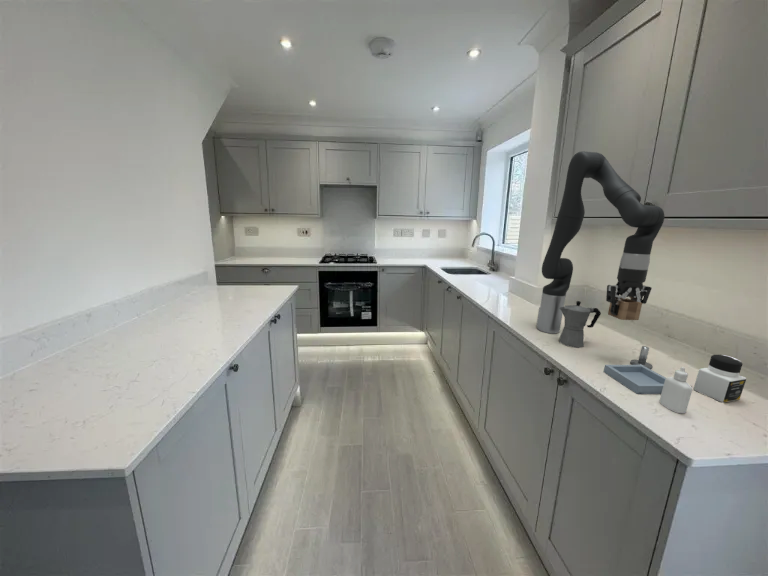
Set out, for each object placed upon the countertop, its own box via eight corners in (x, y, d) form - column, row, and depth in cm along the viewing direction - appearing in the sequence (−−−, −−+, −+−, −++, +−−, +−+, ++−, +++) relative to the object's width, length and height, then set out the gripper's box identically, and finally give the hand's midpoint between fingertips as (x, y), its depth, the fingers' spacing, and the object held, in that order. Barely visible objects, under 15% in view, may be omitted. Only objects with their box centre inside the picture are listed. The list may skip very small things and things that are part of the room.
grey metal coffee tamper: (625, 361, 109) (630, 343, 107) (641, 361, 109) (645, 343, 108) (640, 369, 103) (645, 350, 101) (657, 369, 103) (661, 350, 102)
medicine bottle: (723, 403, 85) (736, 364, 82) (692, 389, 91) (703, 353, 89) (739, 400, 87) (752, 362, 84) (708, 386, 93) (719, 351, 91)
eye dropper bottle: (677, 404, 84) (688, 364, 81) (687, 415, 79) (699, 374, 76) (657, 400, 85) (667, 361, 83) (666, 411, 80) (677, 370, 78)
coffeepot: (558, 346, 120) (566, 303, 116) (549, 337, 130) (556, 297, 125) (600, 349, 118) (609, 306, 114) (588, 340, 127) (596, 299, 123)
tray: (603, 371, 101) (604, 364, 100) (640, 371, 101) (641, 364, 101) (637, 394, 88) (639, 386, 88) (678, 393, 89) (681, 385, 88)
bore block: (607, 314, 107) (611, 298, 106) (624, 314, 108) (627, 298, 106) (621, 319, 101) (624, 302, 100) (638, 320, 102) (642, 303, 100)
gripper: (644, 265, 105) (634, 312, 108) (604, 264, 104) (595, 311, 108) (664, 269, 97) (652, 318, 101) (621, 268, 97) (611, 318, 100)
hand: (623, 314), depth 104 cm, fingers closed on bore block, 6 cm apart
